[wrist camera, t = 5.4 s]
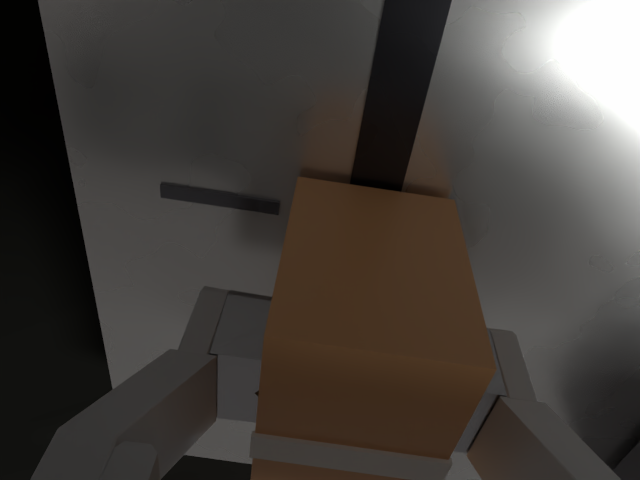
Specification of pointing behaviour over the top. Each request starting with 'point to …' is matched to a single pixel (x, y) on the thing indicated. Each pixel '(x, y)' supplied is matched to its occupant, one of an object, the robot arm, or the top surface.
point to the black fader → (629, 465)
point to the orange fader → (369, 339)
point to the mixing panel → (365, 166)
